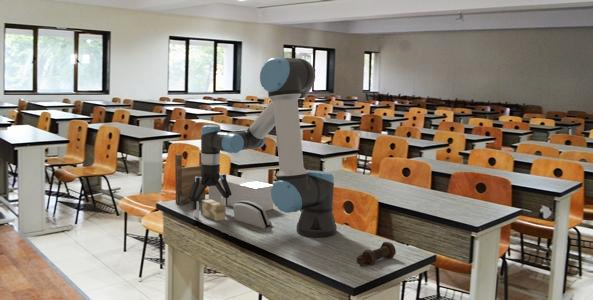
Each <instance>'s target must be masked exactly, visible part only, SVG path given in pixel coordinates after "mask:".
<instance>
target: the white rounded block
mask: <svg viewBox="0 0 593 300" xmlns="http://www.w3.org/2000/svg"><path fill="white" fill-rule="evenodd" d="M232 209H233V214H234V219H235V221H238V222H242V223H245V224H249V225H252V226H255V227H258V228H262V229H265V228H266V226H270V227H273V224H272V221H270V220H269V217H268V215H267V212H266V211H265V209H264V208H263V207H261V206H260V205H258V204H256V203H254V202H250V201H240V202H237V204H235V205H234V206H232Z"/></svg>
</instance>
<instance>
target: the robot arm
mask: <svg viewBox="0 0 593 300" xmlns="http://www.w3.org/2000/svg"><path fill="white" fill-rule="evenodd" d="M259 72H260V73H259V81H260V84H261V87H262V88H263V89H264V90H265V91H266V92H267V94H268V95H267V96H268V99H269V100H270V102H269V103H268V104H267V105H266V107H264V109H263V110H262V111H261V112H260V114H259V115H258V116H257V117H256V118H255V119H254V121H253V122H252V123H251V124H250V125H249V127H248V128H247V129H246V130H242V131H233V132H232V131H231V132H230V131H229V132H225V131H221V127H220V126H219V125H217V124H216V125H215V124H205V125H202V127H201V130H200V131H201V132H200V146H201V147H200V152H201V162H202V164H201V177H196V176H195V177H194V183H193V186H192V188H191V191H190V194H189V196H188V200H189V201H192V202H191V209H192V210H193V217H194V218H196V219H199V218H200V202H197V201H198V199H199V198H200V196H201V194H202V193H203V191H204V190H205V191H206V189H207V188H209V186H216V187H217V189H218V190H219V192H220V193H221V194H222V196H223V197H221V203H222V204H225V214H226V213H227V212H226V211H227V208H226V207H227V206H228V205H227V198H229V196H231V195H232V193H231V191H230V188H229V185H228V183H227V180H226V174H227V173H220V169H221V164H220V163H221V154H220V153H221V152H226V153H229V154H232V153H233V154H238V153H239V152H241V151H244V150H257V149H260V148H262V147H264V146H265V142H266V137H267V136H268V134H269V133H270V132H271V131H272V130H273V129H274V127H275V135H276V136H275V137H276V146H277V153H278V155H277V157H278V167H279V171H277V172H276V174H275V182H274V183H273V184H272V185H273V187H272V188H271V198H272V201H273V205H274V206H275V207H276V208H277V209H278V210H279V211H281V212H283V213H288V214H289V213H297V212H299V211H300V215H299V219H298V222H297V224H296V232H297V233H298V234H300V235H303V236H306V237H312V238H324V237H333V236H334V235H336V234H337V233H338V232H337V229H338V227H337V223H336V220H335V217H334V209H333V206H334V191H335V190H334V186H335V182H334V181H335V180H334V179H335V178H334V177H335V176H334V175H333V174H332V173H331V172H327V171H321V170H314V169H313V170H311V169H306V168H305V165H304V156H303V145H302V136H301V126H300V125H301V124H300V113H299V103H298V101H299V100H302V99H304V98H305V97H306V96H307V94H308V93H309V92H310V91H311V89H312V88H313V86H314V84H315V82H316V71H315V68H314V67H313V65H312V64H311V63H310V62H309V61H308V60H306V59H303V58H295V57H284V56H283V57H282V56H281V57H279V56H278V57H272V58H269V59H267V60H266V61H265V63H264V64H263V66H262V67H261V70H260V71H259ZM219 178H220V179H221V182H222V184H223V187H224V189H225V191H224V189H223V188H222V186H221V184H220V183H219V181H218V180H219ZM201 181H202V182H201ZM199 182H201V184H200V187H199V188H198V186H199ZM197 189H198V190H197ZM196 191H197V192H196Z"/></svg>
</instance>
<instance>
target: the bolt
mask: <svg viewBox="0 0 593 300" xmlns="http://www.w3.org/2000/svg"><path fill="white" fill-rule="evenodd" d="M396 254H397V251H396V247H395V245H394V244H393V243H391V242H389V241H383V242H382V244H381V246H380V248H375V249H374V250H373V249H372V250H370V249H365V250H364V251H363V252H362V254H361V255H358V256H357V257H356V263H357V265H358V266H365V265H368V266H372V265H374V264H375V263H376V261H378V260H380V259H384V258H385V259H389V260H391V259H393V258H394V257H395V255H396Z"/></svg>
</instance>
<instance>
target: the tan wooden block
mask: <svg viewBox="0 0 593 300" xmlns="http://www.w3.org/2000/svg"><path fill="white" fill-rule="evenodd" d="M200 215H202V216H204V217H207V218H209V219H211V220H214V221H215V222H216V221H223V220H225V219H226V213H225V204H222V203H219V202H217V201H214V200H211V199H209V198H207V199H206V198H205V200H201V202H200Z"/></svg>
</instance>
